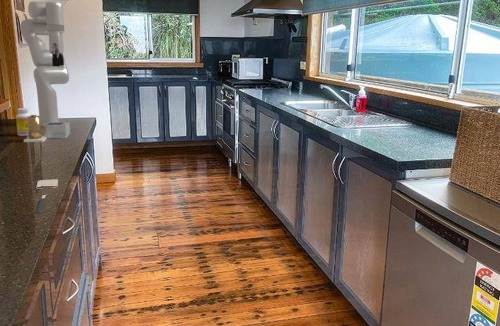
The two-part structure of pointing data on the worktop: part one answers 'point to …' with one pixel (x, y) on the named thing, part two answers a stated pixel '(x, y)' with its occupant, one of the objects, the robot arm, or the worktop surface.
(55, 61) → the robot arm
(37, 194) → the worktop surface
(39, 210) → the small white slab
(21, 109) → the supplement bottle
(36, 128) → the tan capped cylinder
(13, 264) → the worktop surface
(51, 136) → the housing
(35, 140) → the tile
